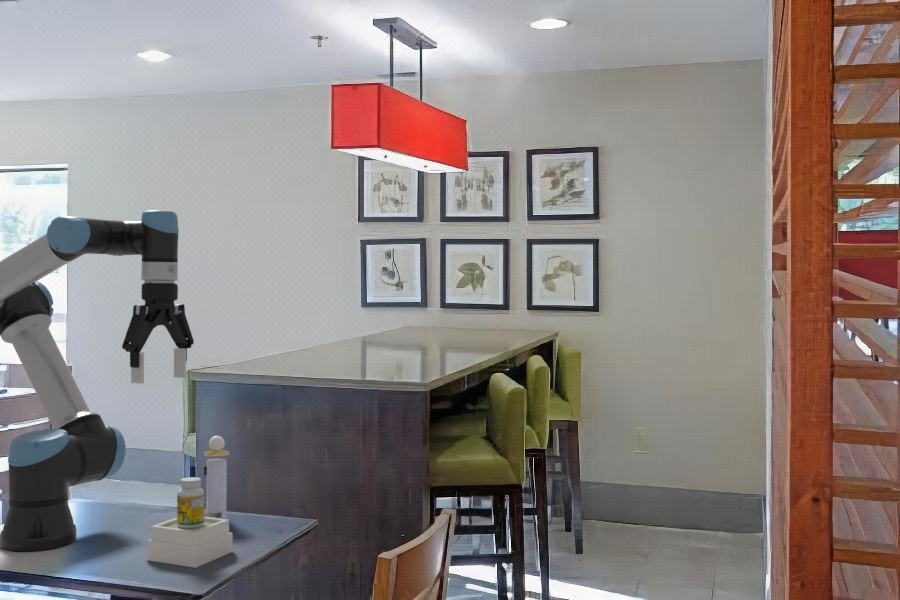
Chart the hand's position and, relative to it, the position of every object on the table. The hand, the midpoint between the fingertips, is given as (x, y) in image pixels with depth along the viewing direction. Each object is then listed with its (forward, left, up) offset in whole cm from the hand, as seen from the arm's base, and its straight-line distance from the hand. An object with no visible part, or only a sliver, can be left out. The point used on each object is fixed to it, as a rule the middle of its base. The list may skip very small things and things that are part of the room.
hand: (159, 380), depth 202 cm
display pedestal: (+14, -7, -35) cm, 38 cm away
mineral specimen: (+4, +8, -35) cm, 36 cm away
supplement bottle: (+14, -7, -29) cm, 33 cm away
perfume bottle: (+1, +19, -35) cm, 40 cm away
